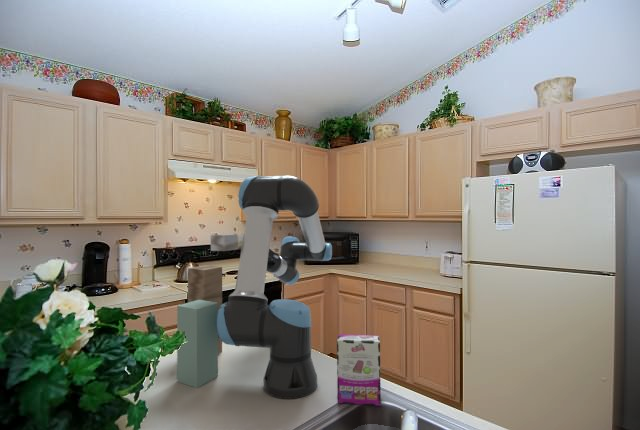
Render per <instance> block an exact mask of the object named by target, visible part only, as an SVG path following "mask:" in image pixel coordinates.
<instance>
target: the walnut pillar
mask: <svg viewBox="0 0 640 430" xmlns="http://www.w3.org/2000/svg"><path fill="white" fill-rule="evenodd" d="M196 300H204V301H210V302H216V303H218V311H219V309H220V306H221V305H222V304H223V266H219V265H218V266H217V265H200V266H193V267H188V268H187V303H189V302H192V301H196ZM222 352H223V342H222V340H221V339H220V337H219V334H218V355H219V354H221V353H222Z"/></svg>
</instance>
